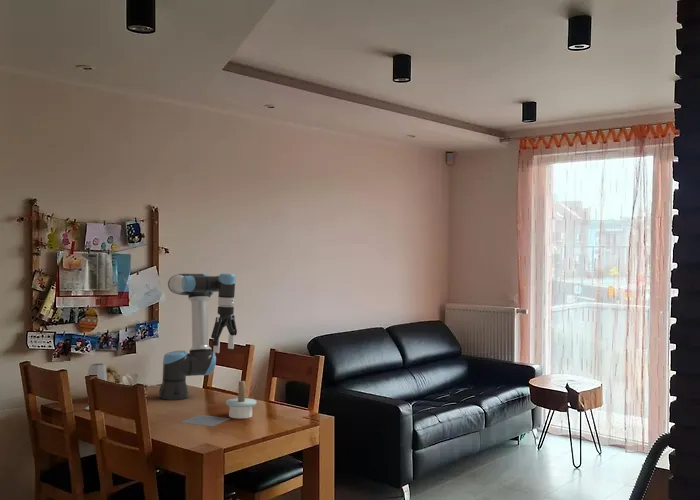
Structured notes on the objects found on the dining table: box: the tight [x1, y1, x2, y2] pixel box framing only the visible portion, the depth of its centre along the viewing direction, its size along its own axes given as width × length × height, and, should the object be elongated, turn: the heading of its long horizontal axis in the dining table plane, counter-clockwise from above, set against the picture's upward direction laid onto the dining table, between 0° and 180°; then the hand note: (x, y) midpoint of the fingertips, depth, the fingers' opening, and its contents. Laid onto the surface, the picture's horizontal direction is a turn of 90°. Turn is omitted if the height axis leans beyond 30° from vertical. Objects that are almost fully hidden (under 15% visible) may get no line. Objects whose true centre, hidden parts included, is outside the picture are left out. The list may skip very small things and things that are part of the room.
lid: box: [225, 380, 257, 407], centre depth 303 cm, size 14×14×10 cm
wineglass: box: [84, 362, 107, 411], centre depth 307 cm, size 9×9×21 cm
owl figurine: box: [106, 364, 121, 384], centre depth 329 cm, size 18×12×17 cm, turn 21°
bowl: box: [228, 406, 254, 419], centre depth 303 cm, size 10×10×6 cm
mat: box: [180, 414, 231, 427], centre depth 291 cm, size 16×16×1 cm
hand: (223, 350), depth 312 cm, fingers open, 13 cm apart
